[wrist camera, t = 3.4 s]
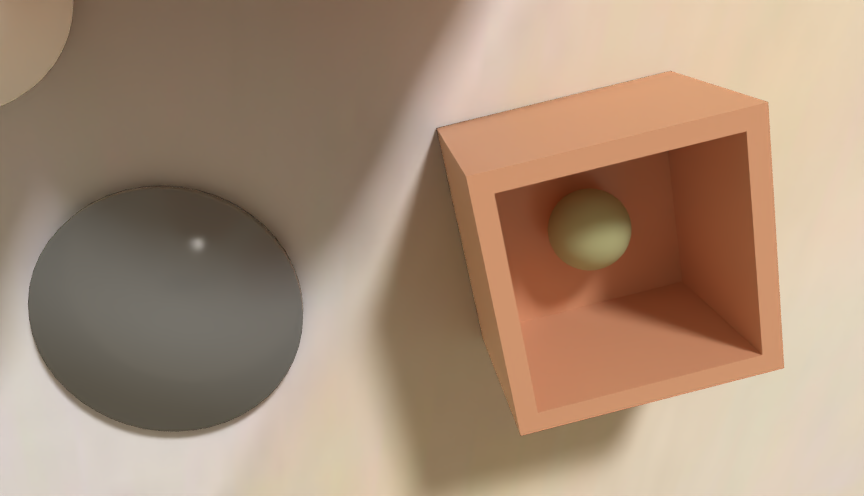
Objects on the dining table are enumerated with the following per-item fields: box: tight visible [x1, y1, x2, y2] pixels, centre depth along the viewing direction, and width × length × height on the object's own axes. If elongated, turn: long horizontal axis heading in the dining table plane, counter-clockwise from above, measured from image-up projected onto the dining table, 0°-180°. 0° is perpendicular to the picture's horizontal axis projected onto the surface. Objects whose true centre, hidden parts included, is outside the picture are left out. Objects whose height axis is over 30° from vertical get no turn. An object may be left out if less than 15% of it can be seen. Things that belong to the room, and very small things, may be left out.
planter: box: [437, 71, 784, 436], centre depth 27 cm, size 9×9×7 cm
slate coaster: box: [28, 186, 303, 431], centre depth 30 cm, size 10×10×1 cm
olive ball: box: [548, 188, 632, 271], centre depth 28 cm, size 3×3×3 cm
